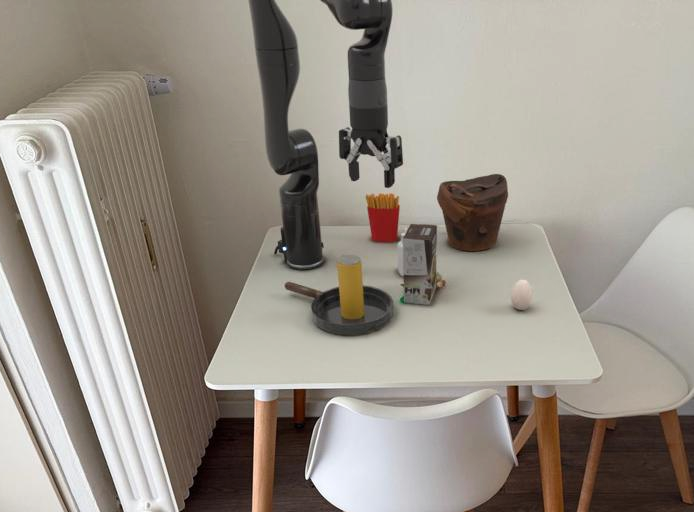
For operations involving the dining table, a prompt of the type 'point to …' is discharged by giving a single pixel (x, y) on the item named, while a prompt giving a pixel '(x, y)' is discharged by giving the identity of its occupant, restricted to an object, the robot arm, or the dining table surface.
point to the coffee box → (419, 263)
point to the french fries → (383, 217)
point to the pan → (374, 317)
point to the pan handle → (302, 290)
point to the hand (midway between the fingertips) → (371, 183)
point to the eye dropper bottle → (401, 253)
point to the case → (473, 210)
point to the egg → (521, 294)
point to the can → (350, 286)
